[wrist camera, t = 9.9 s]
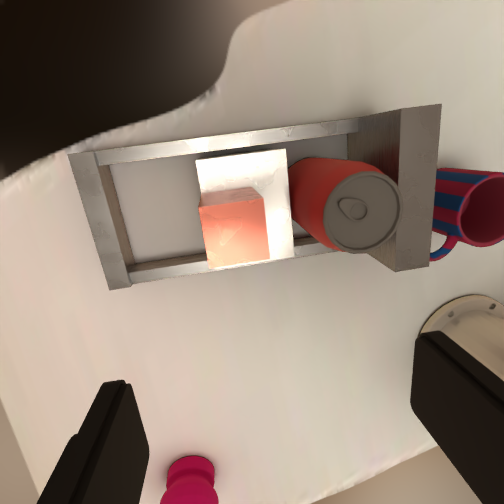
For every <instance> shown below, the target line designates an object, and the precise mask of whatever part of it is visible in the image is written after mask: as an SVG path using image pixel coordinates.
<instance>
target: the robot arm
mask: <svg viewBox="0 0 504 504" xmlns="http://www.w3.org/2000/svg"><path fill="white" fill-rule="evenodd" d="M410 403H411V407H412V409H413V412H414V413H415V415H416V416H417V417H418V419H419V420H420V421H421V423H422V424H423V425H424V427H425V428H426V429H427V430H428V432H429V433H430V434H431V436H432V437H433V438H434V440H435V441H436V442H437V444H438V445H439V446H440V448H441V449H442V450H443V452H444V453H445V454H446V456H447V457H448V458H449V459H450V461H451V462H452V464H453V465H454V466H455V468H456V469H457V470H458V472H459V473H460V474H461V476H462V477H463V478H464V480H465V481H466V482H467V483H468V485H469V486H470V488H471V489H472V490H473V492H474V493H475V494H476V496H477V497H478V498H479V499H480V501H481V502H482V504H504V305H502V304H501V303H499V302H497V301H495V300H493V299H491V298H489V297H486V296H481V295H471V296H465V297H461V298H459V299H456V300H453V301H451V302H450V303H448V304H446V305H444V306H443V307H442V308H440V309H439V310H437V311H436V312H435V313H434V314H433V315H432V316H431V317H430V318H429V320H428V321H427V322H426V324H425V325H424V327H423V329H422V331H421V333H420V335H419V338H417V339H416V341H415V350H414V362H413V374H412V386H411V398H410ZM148 461H149V445H148V441H147V438H146V434H145V431H144V427H143V424H142V420H141V417H140V413H139V410H138V406H137V403H136V399H135V396H134V392H133V389H132V386H131V384H126V383H125V381H124V380H117V381H110V382H104V383H103V384H102V385H101V387H100V389H99V391H98V393H97V395H96V397H95V399H94V401H93V403H92V405H91V407H90V409H89V411H88V413H87V415H86V418H85V420H84V422H83V424H82V426H81V428H80V430H79V432H78V434H75V435H74V436H72V437H71V439H70V440H69V442H68V443H67V445H66V447H65V449H64V451H63V453H62V455H61V457H60V459H59V461H58V463H57V465H56V467H55V469H54V471H53V473H52V475H51V476H50V478H49V480H48V482H47V484H46V486H45V488H44V490H43V492H42V494H41V496H40V498H39V500H38V502H37V504H139V501H140V497H141V492H142V488H143V483H144V479H145V474H146V470H147V465H148Z"/></svg>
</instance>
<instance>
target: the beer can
mask: <svg viewBox="0 0 504 504" xmlns="http://www.w3.org/2000/svg"><path fill="white" fill-rule="evenodd" d="M288 183H289V195H290V208H291V218H292V219H293V220H294V221H296V222H297V223H298V224H299V225H300V226H301V227H302V228H304V229H305V230H306V231H307V232H308V233H309V234H311V235H312V236H313V237H314V238H315V239H316V240H318V241H319V242H320V243H322V244H323V245H325V246H326V247H328V248H331V249H335V250H338V251H342V252H349V253H353V254H357V253H367V252H370V251H373V250H375V249H378V248H379V247H380V246H382V245H383V244H385V243H386V242H387V241H388V240H389V239H390V238H391V237H392V236H393V234H394V233H395V232H396V230H397V228H398V226H399V224H400V222H401V219H402V213H403V207H404V206H403V199H402V194H401V192H400V190H399V188H398V186H397V184H396V183H395V182H394V181H393V180H392V179H390V178H389V177H388V176H387V175H385V174H384V173H383V172H381V171H380V170H379V169H378V168H376V167H375V166H372V165H370V164H367V163H364V162H361V161H350V160H340V159H329V158H306V159H303V160H300V161H298V162H296V163H295V164H294V165H292V166H291V167H290V168H289V169H288Z"/></svg>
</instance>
